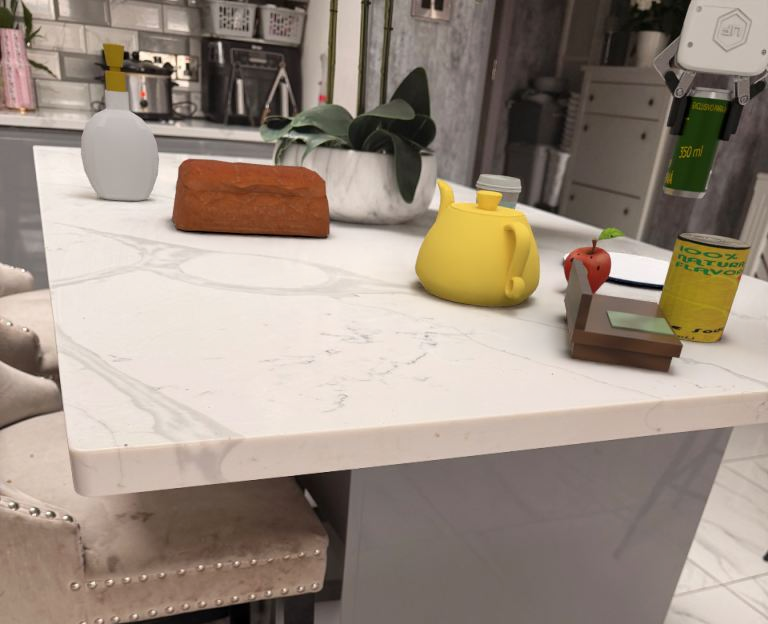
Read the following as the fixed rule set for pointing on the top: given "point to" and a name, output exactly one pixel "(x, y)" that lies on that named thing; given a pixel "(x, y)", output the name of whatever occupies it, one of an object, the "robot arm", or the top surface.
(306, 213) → the bread
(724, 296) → the beverage can
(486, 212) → the teapot
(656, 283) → the plate
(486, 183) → the coffee cup
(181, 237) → the top surface
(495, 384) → the top surface
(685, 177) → the beer can
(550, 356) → the top surface
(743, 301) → the top surface
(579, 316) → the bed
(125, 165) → the white rounded bottle
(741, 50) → the robot arm
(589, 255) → the apple
